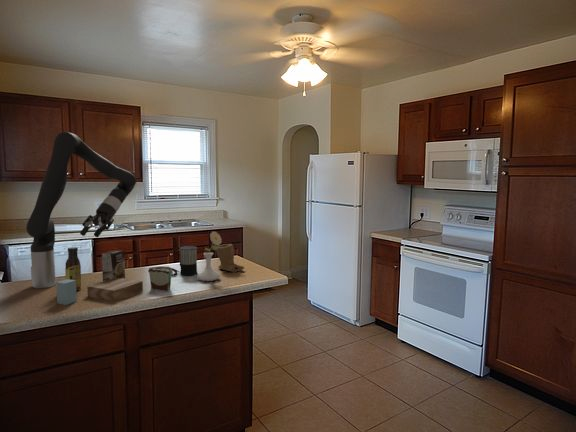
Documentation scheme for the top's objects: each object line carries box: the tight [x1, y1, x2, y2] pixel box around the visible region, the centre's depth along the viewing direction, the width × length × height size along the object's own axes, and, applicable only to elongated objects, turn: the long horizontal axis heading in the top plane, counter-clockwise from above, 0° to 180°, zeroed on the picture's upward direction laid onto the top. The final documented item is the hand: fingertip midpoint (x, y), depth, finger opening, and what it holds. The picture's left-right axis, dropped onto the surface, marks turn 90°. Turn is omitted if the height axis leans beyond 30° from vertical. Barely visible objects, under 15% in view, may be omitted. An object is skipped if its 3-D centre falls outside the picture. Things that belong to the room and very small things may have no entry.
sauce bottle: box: [64, 246, 82, 292], centre depth 174 cm, size 7×6×20 cm
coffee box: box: [101, 249, 126, 282], centre depth 184 cm, size 9×6×16 cm
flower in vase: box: [196, 231, 223, 282], centre depth 193 cm, size 13×11×25 cm
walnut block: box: [86, 278, 144, 302], centre depth 169 cm, size 16×16×5 cm
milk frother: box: [171, 245, 198, 277], centre depth 203 cm, size 14×16×15 cm
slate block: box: [55, 278, 78, 306], centre depth 157 cm, size 5×5×9 cm
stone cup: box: [215, 243, 245, 273], centre depth 213 cm, size 15×12×15 cm
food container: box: [147, 266, 174, 292], centre depth 177 cm, size 12×6×10 cm, turn 71°
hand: (88, 235), depth 166 cm, fingers open, 8 cm apart
